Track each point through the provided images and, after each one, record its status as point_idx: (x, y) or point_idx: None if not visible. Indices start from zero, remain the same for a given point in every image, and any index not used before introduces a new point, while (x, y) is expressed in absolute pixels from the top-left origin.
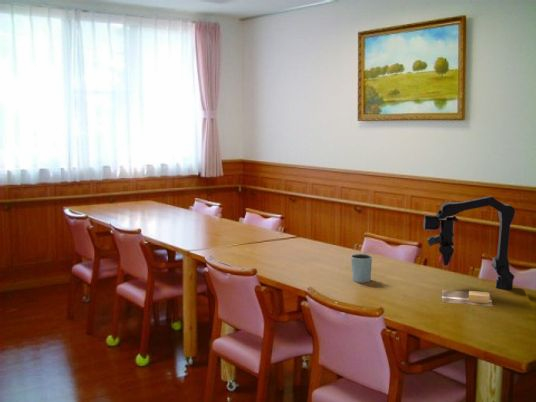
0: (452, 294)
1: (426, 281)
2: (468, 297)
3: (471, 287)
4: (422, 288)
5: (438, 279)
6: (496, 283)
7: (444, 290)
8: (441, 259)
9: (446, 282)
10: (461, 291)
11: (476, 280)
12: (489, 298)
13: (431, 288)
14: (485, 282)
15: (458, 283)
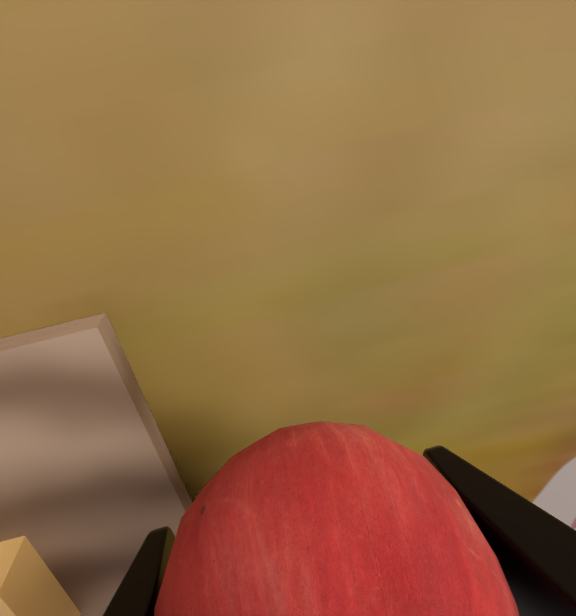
0: (9, 434)
1: (451, 57)
2: (23, 534)
3: (386, 434)
4: (149, 79)
5: (548, 164)
6: None
7: (92, 347)
8: (169, 601)
9: (466, 254)
10: (157, 457)
11: (561, 411)
12: (104, 610)
13: (207, 179)
14: (525, 460)
15: (461, 341)
